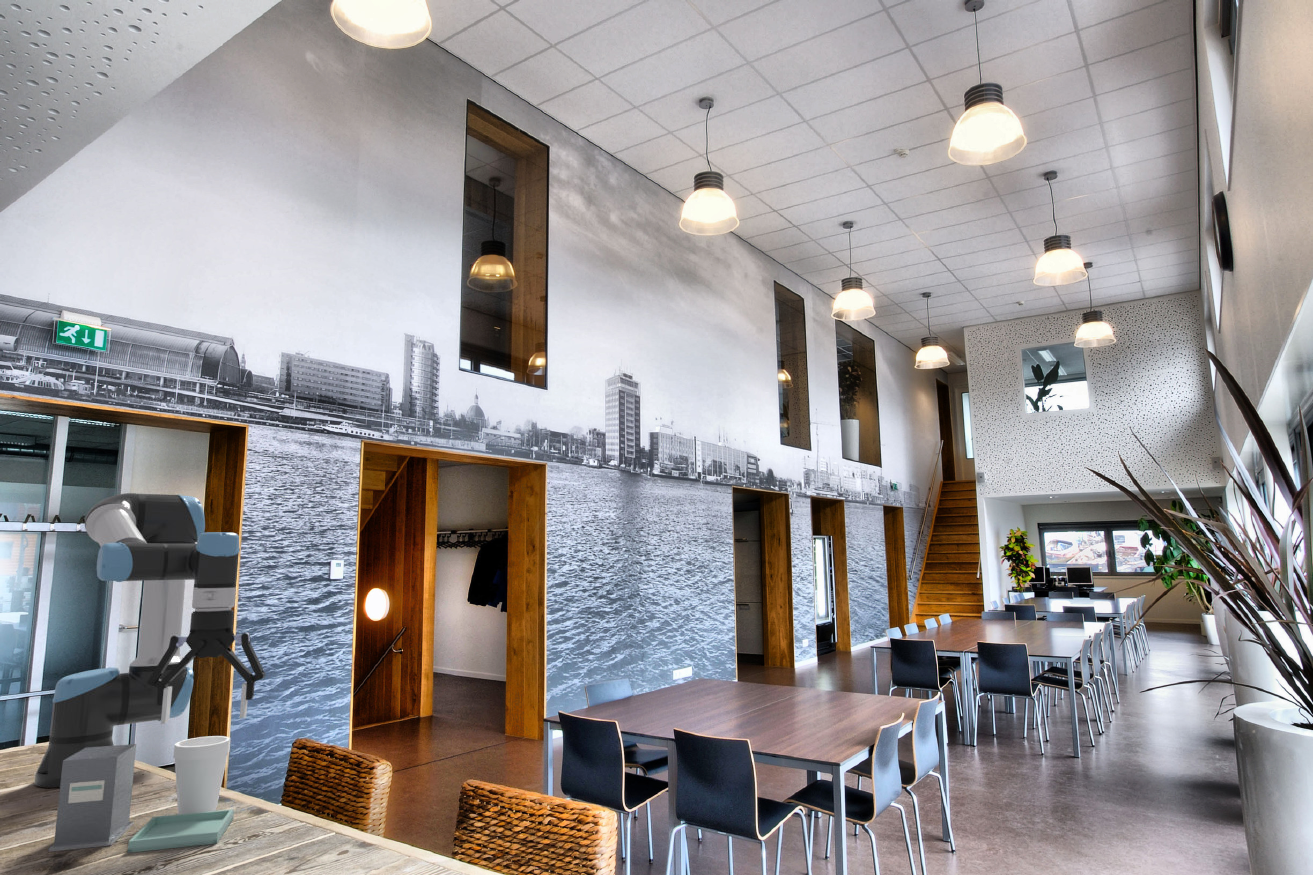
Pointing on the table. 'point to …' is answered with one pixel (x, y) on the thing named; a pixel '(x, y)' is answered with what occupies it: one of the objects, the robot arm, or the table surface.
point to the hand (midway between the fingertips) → (204, 719)
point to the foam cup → (200, 772)
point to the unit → (94, 797)
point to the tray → (181, 830)
